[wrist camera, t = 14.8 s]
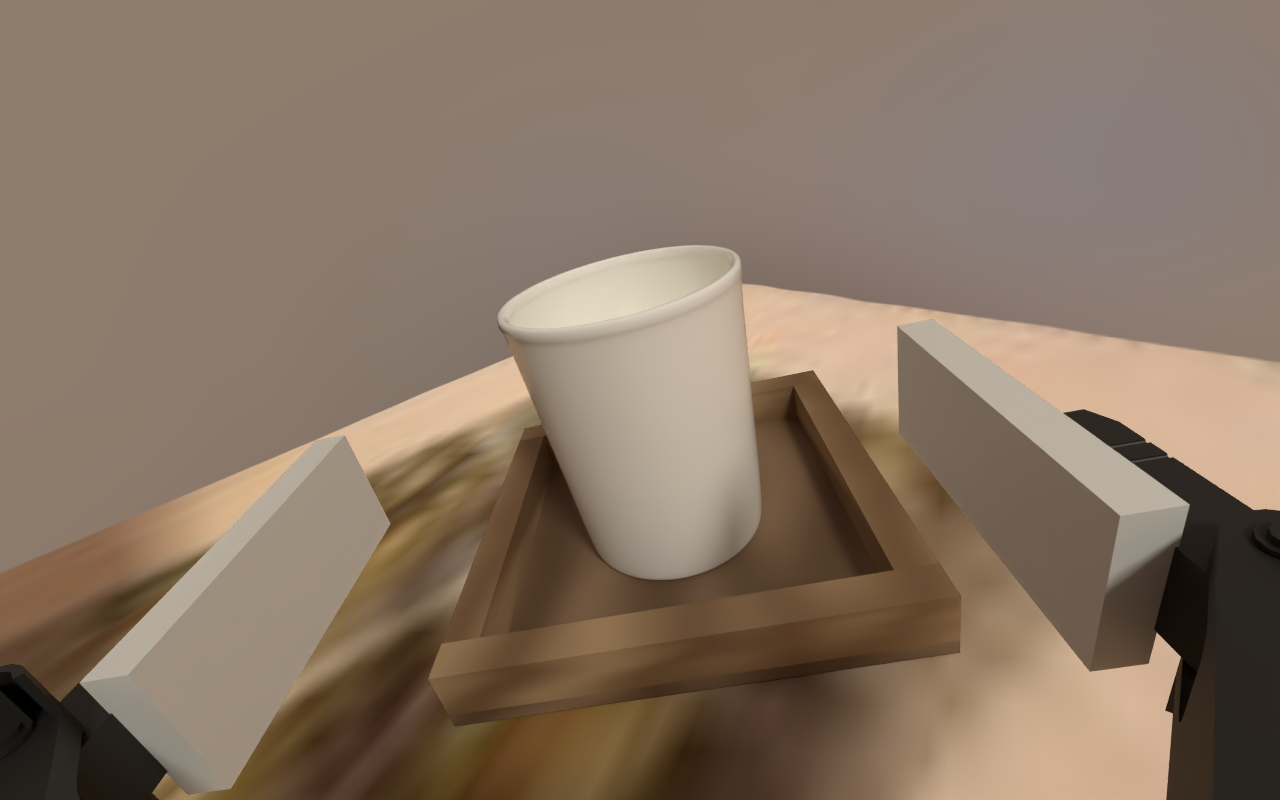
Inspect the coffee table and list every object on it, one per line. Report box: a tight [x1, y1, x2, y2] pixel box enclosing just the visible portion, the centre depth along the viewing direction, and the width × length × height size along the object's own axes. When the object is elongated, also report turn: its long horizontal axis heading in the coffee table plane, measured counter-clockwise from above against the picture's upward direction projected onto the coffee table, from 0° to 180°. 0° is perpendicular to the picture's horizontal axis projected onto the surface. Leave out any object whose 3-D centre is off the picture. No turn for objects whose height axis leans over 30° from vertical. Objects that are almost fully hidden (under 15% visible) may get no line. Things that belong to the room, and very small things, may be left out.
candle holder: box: [497, 245, 762, 580], centre depth 25 cm, size 10×10×12 cm
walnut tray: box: [428, 370, 961, 726], centre depth 28 cm, size 18×18×3 cm
